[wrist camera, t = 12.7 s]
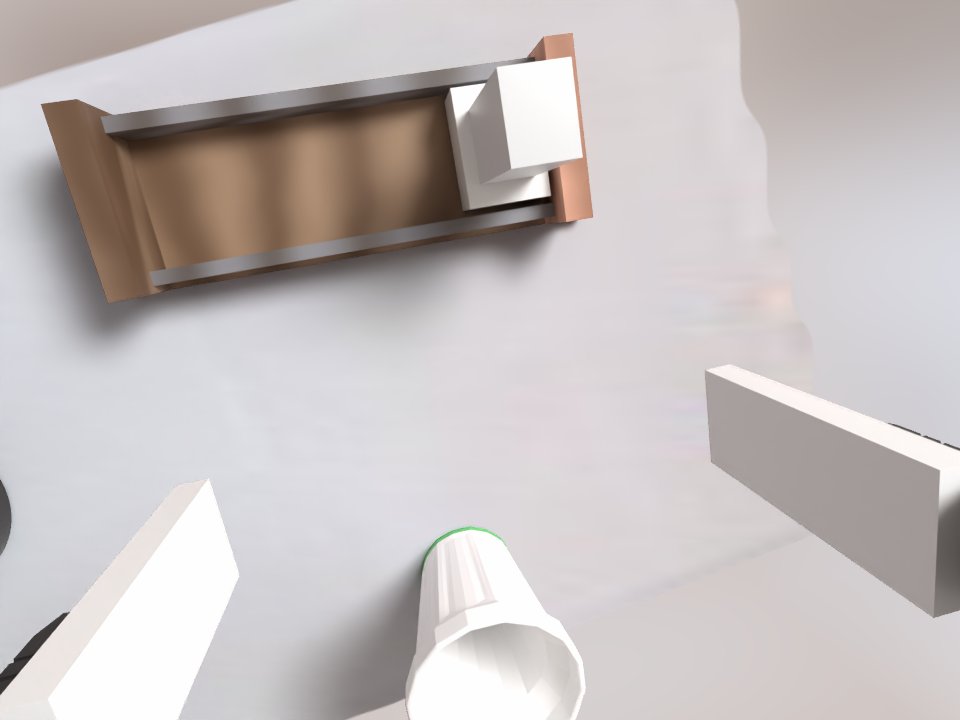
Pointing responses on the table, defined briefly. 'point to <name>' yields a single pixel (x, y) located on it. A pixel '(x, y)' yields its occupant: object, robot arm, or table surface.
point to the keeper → (513, 132)
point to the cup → (487, 640)
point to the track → (285, 179)
